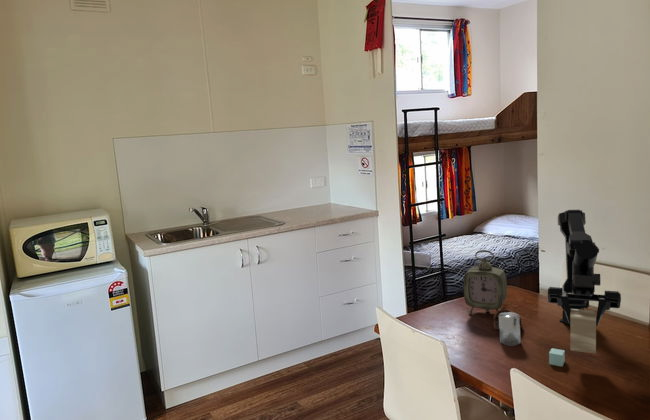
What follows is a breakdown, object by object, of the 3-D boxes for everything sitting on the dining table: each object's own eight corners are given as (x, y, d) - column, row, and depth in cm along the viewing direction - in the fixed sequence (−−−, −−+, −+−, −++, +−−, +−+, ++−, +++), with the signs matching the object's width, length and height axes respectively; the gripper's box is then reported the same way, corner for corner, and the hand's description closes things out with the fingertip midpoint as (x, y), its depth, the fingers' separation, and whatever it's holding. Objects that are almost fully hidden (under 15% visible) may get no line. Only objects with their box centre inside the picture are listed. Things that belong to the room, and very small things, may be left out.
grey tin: (511, 336, 167) (510, 310, 166) (524, 343, 161) (523, 316, 160) (495, 340, 165) (494, 314, 164) (508, 347, 159) (507, 320, 158)
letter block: (551, 359, 150) (551, 348, 149) (564, 361, 148) (564, 350, 147) (549, 364, 147) (549, 352, 146) (562, 366, 145) (562, 355, 144)
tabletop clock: (464, 315, 189) (461, 251, 185) (470, 307, 196) (468, 246, 192) (503, 320, 181) (502, 254, 177) (508, 311, 189) (507, 248, 185)
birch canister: (570, 342, 146) (570, 308, 145) (595, 345, 143) (595, 310, 142) (570, 350, 141) (570, 315, 140) (595, 353, 139) (596, 317, 137)
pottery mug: (529, 334, 169) (520, 317, 166) (504, 346, 171) (494, 329, 168) (517, 313, 180) (508, 297, 177) (493, 324, 182) (484, 308, 179)
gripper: (547, 260, 146) (545, 309, 138) (620, 264, 138) (623, 316, 130) (549, 278, 154) (547, 325, 147) (618, 282, 146) (620, 332, 138)
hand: (583, 324), depth 140 cm, fingers closed on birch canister, 6 cm apart
